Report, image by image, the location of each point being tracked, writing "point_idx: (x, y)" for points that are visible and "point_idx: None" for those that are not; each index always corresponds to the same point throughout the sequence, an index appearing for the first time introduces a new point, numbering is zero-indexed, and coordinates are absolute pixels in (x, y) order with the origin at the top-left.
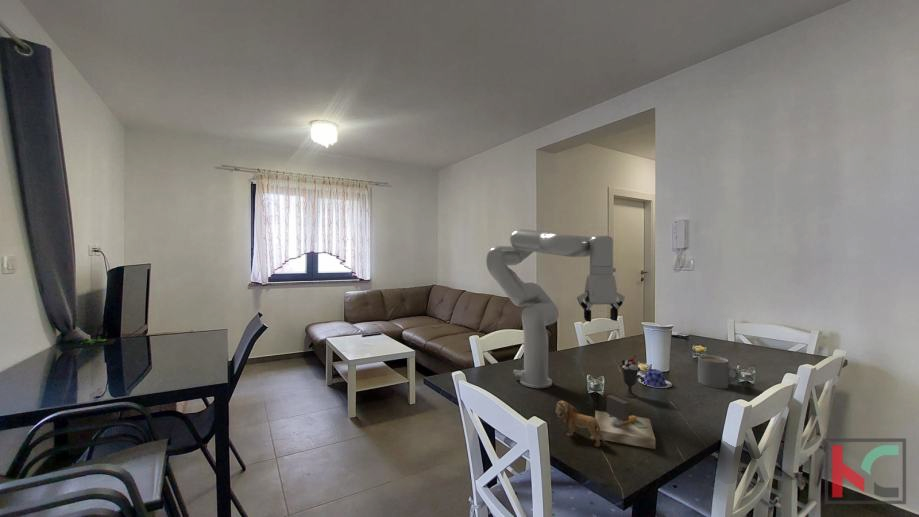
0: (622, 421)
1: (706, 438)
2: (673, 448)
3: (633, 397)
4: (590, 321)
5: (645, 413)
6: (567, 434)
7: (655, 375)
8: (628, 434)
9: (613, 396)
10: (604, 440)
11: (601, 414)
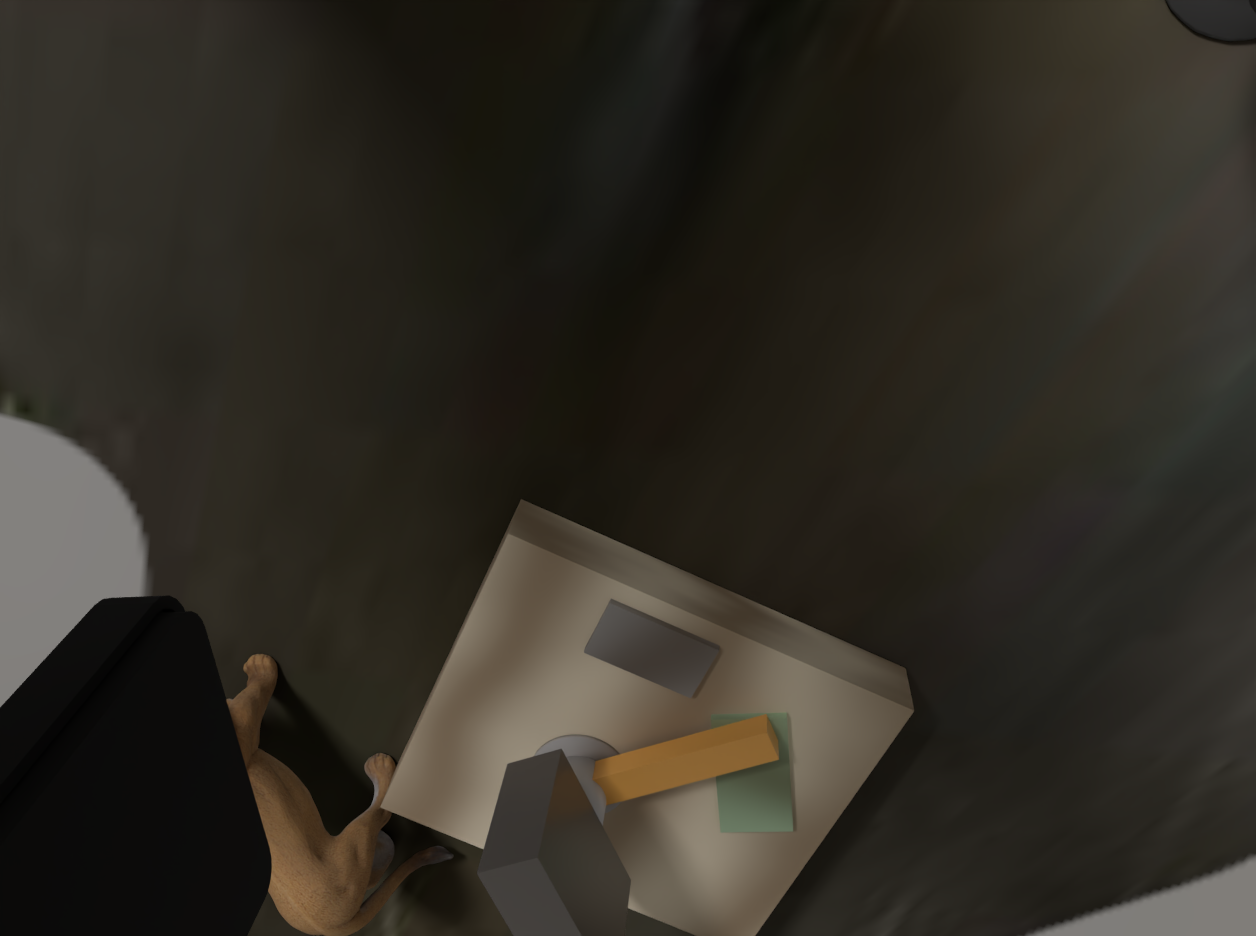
0: (616, 799)
1: (1216, 843)
2: (868, 910)
3: (1237, 38)
4: (252, 874)
5: (1061, 442)
6: None
7: None
8: None
9: (539, 887)
10: (422, 865)
11: (533, 604)
